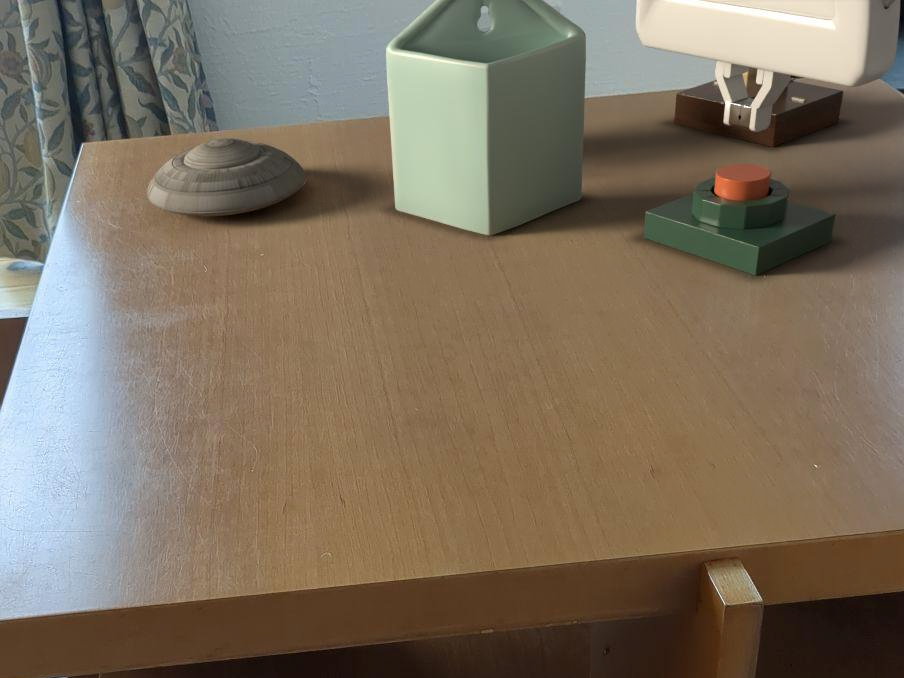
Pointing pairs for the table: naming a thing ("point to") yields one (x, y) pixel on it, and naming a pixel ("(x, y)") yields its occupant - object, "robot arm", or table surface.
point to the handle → (751, 82)
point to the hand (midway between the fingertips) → (746, 126)
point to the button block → (740, 227)
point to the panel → (789, 119)
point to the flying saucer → (225, 179)
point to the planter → (487, 113)
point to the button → (742, 182)
